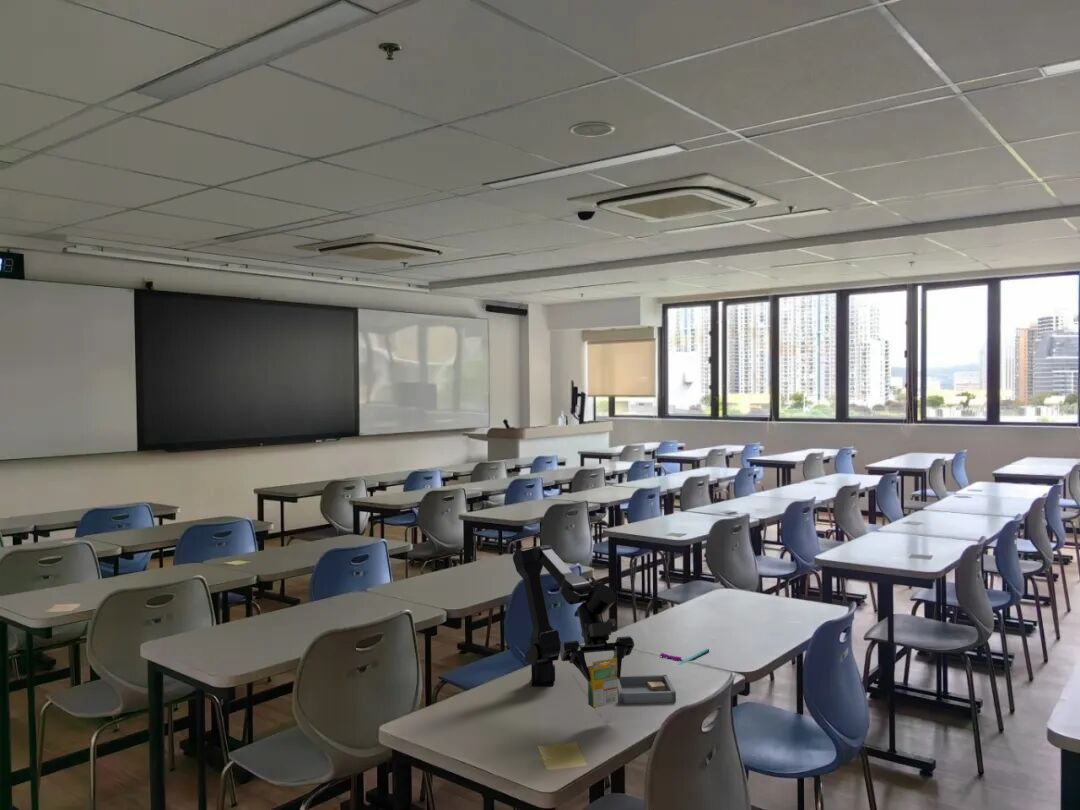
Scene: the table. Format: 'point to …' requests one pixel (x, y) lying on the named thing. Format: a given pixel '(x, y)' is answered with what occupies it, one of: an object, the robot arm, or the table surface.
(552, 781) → the table surface
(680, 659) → the bent bar
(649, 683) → the wood tile
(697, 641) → the table surface
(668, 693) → the tray
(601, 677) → the crayon box
